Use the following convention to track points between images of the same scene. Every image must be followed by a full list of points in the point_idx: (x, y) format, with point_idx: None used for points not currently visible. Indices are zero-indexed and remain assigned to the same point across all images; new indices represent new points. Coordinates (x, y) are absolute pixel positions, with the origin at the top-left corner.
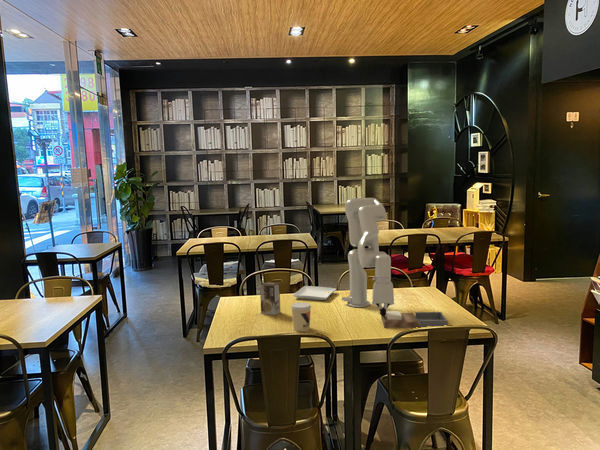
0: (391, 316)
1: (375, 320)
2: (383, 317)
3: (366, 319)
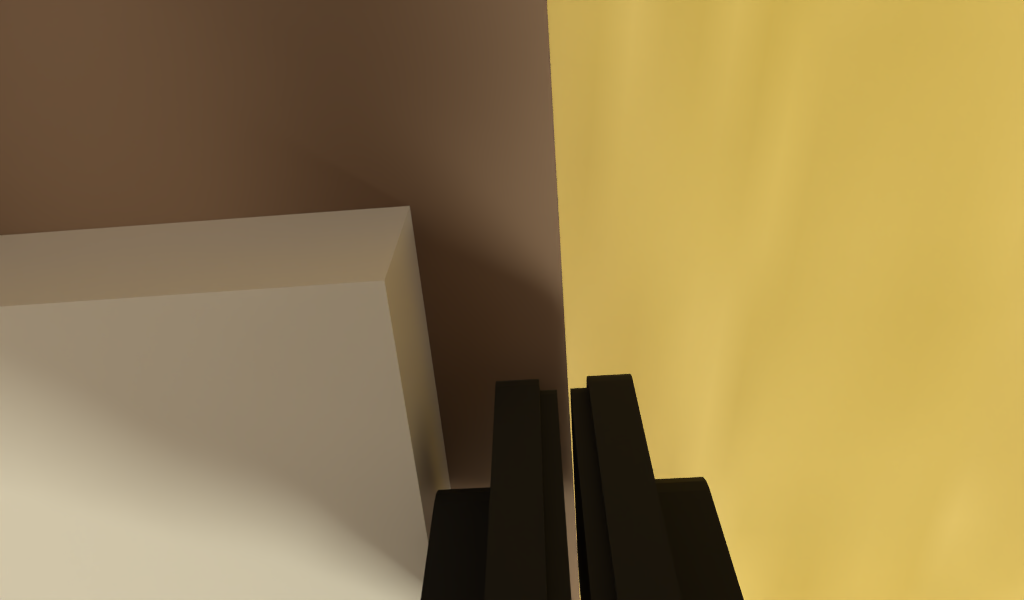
0: (184, 274)
1: (739, 517)
2: None
3: (961, 567)
